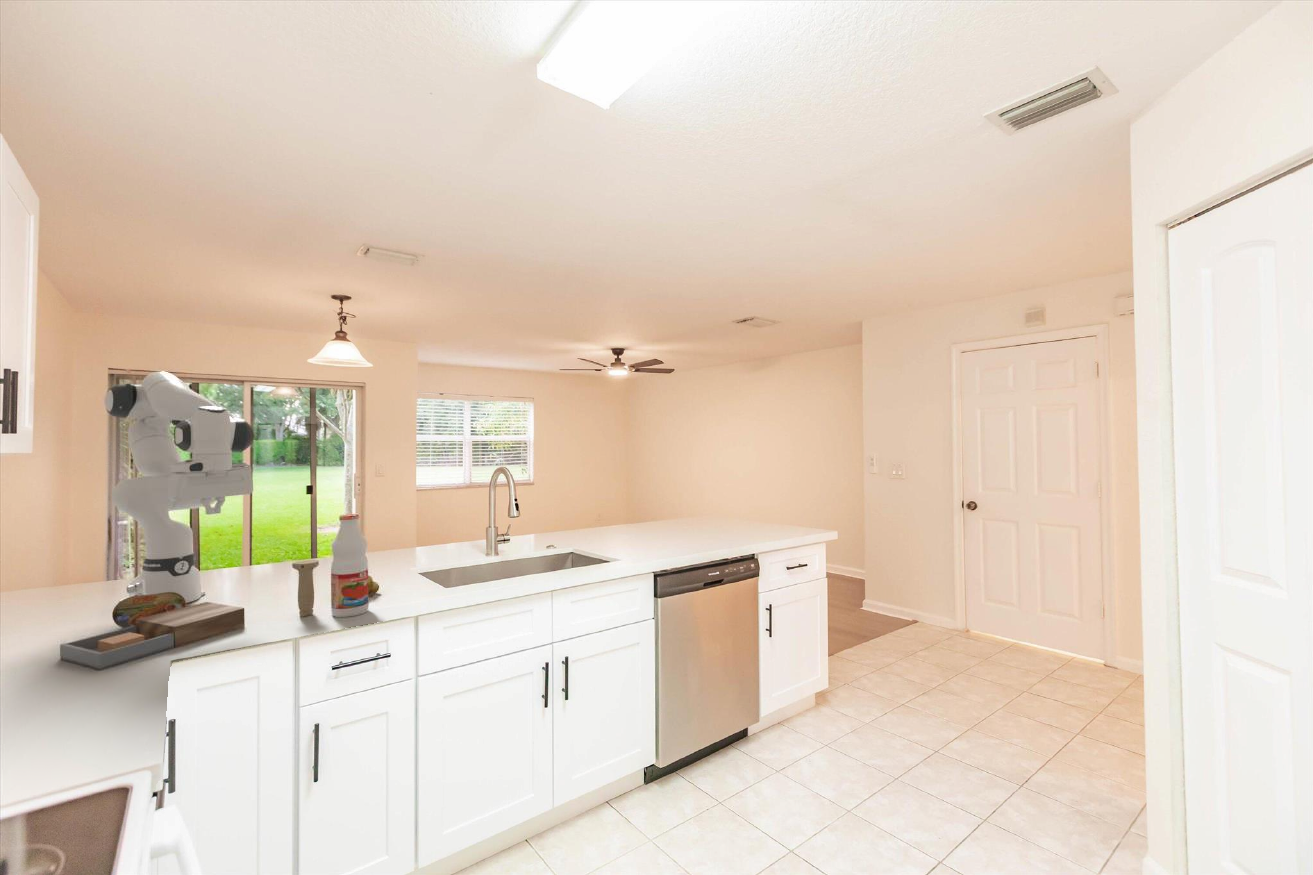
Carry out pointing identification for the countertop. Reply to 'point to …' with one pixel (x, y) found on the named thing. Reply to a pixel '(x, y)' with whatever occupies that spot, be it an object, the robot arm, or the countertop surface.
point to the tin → (145, 607)
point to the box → (89, 656)
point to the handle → (305, 585)
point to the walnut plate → (192, 622)
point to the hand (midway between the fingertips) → (213, 513)
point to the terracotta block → (119, 641)
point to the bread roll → (372, 586)
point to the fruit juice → (349, 569)
